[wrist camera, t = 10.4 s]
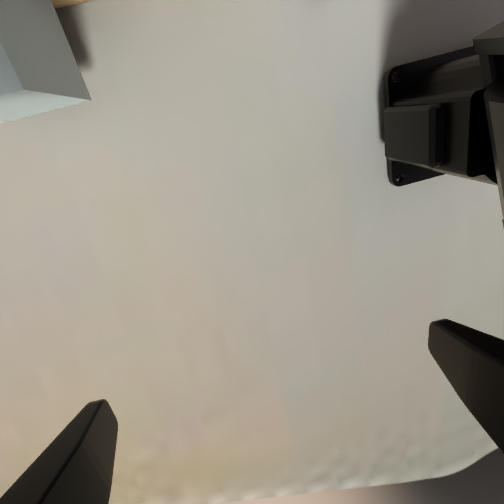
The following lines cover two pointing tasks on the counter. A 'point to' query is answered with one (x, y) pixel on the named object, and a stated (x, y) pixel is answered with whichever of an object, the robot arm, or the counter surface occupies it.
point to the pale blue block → (35, 61)
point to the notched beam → (66, 3)
